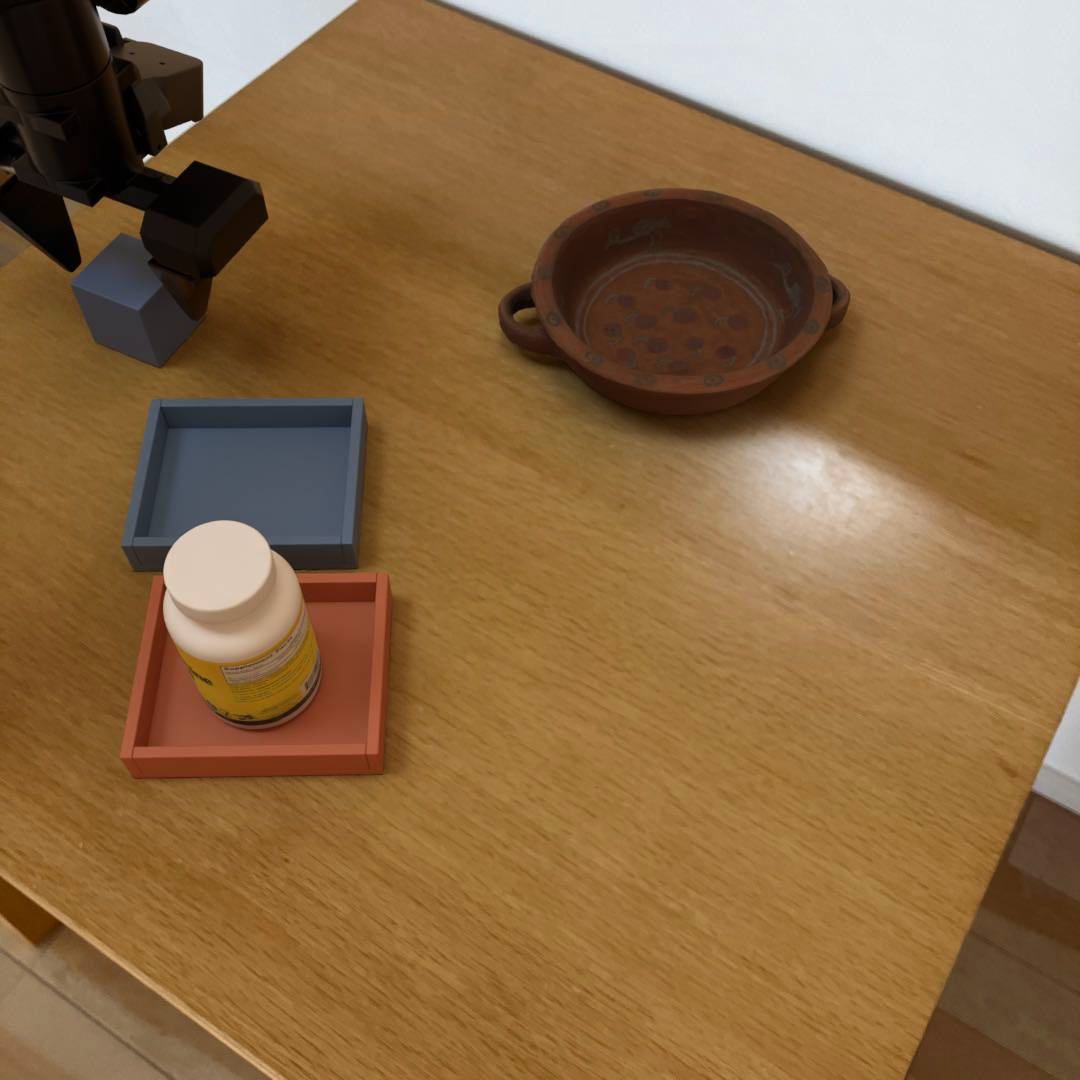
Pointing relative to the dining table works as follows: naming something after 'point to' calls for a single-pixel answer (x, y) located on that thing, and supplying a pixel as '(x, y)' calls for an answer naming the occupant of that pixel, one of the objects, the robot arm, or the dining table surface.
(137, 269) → the blue block
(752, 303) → the dish
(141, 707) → the terracotta tray
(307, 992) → the dining table surface
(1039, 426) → the dining table surface
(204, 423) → the blue tray
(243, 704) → the pill bottle
